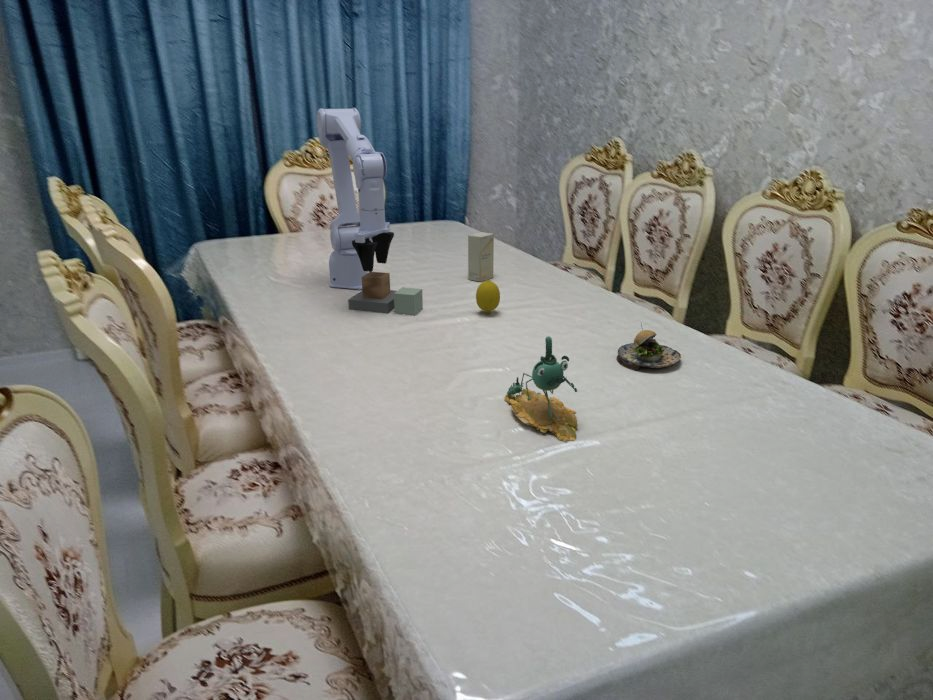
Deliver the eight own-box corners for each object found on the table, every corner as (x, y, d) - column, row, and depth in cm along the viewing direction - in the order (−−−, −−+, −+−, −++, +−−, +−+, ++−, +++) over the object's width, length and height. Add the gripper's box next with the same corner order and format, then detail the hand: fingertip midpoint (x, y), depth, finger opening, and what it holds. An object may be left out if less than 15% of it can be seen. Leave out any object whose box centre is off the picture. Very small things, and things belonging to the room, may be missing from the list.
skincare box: (480, 282, 177) (480, 237, 172) (467, 279, 179) (467, 235, 175) (494, 277, 181) (494, 233, 177) (481, 274, 184) (481, 231, 179)
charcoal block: (348, 311, 156) (348, 299, 155) (367, 299, 165) (366, 287, 164) (387, 315, 153) (387, 303, 152) (404, 303, 162) (404, 291, 161)
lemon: (471, 315, 152) (471, 281, 149) (482, 308, 156) (482, 275, 153) (493, 318, 149) (493, 284, 146) (503, 311, 154) (504, 278, 151)
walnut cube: (362, 297, 156) (361, 277, 154) (371, 291, 160) (369, 271, 159) (382, 299, 155) (381, 278, 153) (390, 293, 159) (389, 272, 157)
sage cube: (394, 314, 153) (393, 293, 151) (403, 307, 157) (402, 287, 155) (414, 316, 151) (414, 295, 150) (422, 309, 156) (422, 289, 154)
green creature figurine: (542, 389, 115) (551, 311, 108) (597, 448, 100) (612, 362, 94) (491, 398, 112) (498, 318, 105) (541, 459, 97) (552, 371, 90)
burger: (635, 377, 120) (639, 339, 117) (605, 353, 130) (608, 317, 127) (693, 370, 123) (698, 332, 120) (659, 347, 133) (663, 312, 130)
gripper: (374, 215, 143) (377, 276, 148) (400, 204, 155) (402, 260, 160) (344, 213, 145) (349, 273, 150) (373, 202, 157) (376, 258, 162)
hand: (375, 266), depth 155 cm, fingers open, 7 cm apart
